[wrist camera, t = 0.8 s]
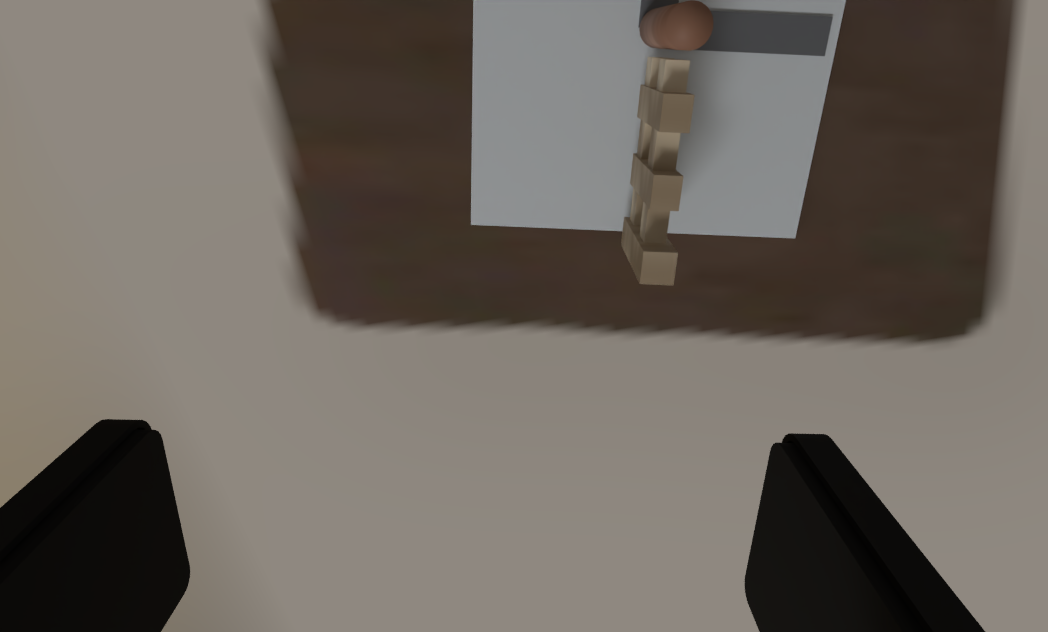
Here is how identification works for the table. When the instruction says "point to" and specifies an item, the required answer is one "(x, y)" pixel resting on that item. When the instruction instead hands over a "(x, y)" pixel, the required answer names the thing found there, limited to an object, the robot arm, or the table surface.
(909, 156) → the table surface
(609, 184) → the card
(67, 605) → the robot arm
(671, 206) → the beige stepped wooden piece
